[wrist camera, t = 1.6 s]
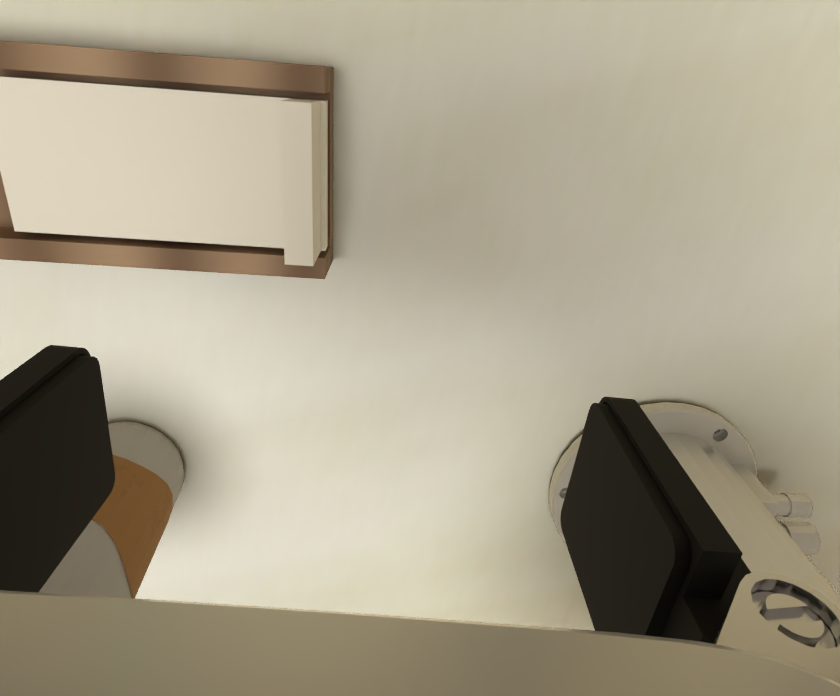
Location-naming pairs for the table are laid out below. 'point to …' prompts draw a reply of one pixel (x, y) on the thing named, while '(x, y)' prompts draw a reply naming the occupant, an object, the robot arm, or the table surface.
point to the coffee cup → (124, 517)
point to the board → (174, 75)
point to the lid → (166, 164)
